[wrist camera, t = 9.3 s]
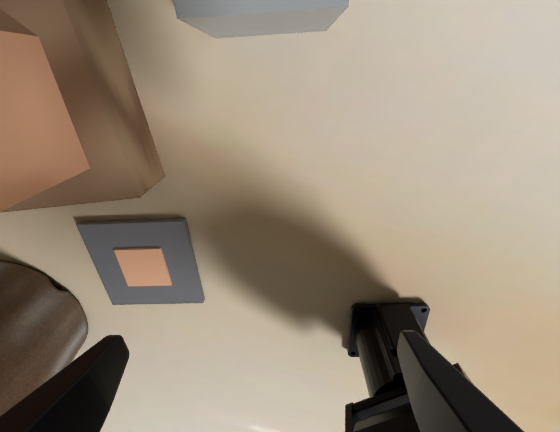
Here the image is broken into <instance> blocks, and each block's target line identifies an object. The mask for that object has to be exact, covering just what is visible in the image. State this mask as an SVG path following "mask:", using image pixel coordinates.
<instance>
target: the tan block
mask: <svg viewBox="0 0 560 432" xmlns="http://www.w3.org/2000/svg"><path fill="white" fill-rule="evenodd" d="M0 31H6V32H12V33H19V34H26V35H32V36H38V37H39V39H40V42H41V45H42V47H43V50H44V52H45V55H46V57H47V60H48V62H49V65H50V67H51V70H52V73H53V75H54V78H55V80H56V83H57V85H58V88H59V90H60V93H61V95H62V98H63V100H64V103H65V106H66V108H67V111H68V113H69V116H70V118H71V121H72V123H73V126H74V128H75V131H76V133H77V136H78V139H79V141H80V144H81V146H82V149H83V151H84V154H85V156H86V159H87V161H88V164H89V167H90V169H88V170H86V171H84V172H82V173H80V174H78V175H76V176H74V177H72V178H69V179H67V180H65V181H63V182H61V183H59V184H57V185H55V186H53V187H51V188H49V189H47V190H45V191H42V192H40V193H38V194H36V195H34V196H32V197H30V198H28V199H26V200H24V201H22V202H20V203H17V204H15V205H13V206H11V207H9V208H7V209H5V210H3V211H1V212H9V211H18V210H28V209H37V208H46V207H56V206H65V205H74V204H84V203H93V202H102V201H112V200H121V199H130V198H140V197H141V196H142V195H143V194H144V193H146V192H147V191H148V190H149V189H150V188H152V187H153V186H154V185H155V184H156V183H158V182H159V181H160V180H161V179H162V178H164V177H165V175H164V172H163V169H162V166H161V163H160V160H159V157H158V154H157V151H156V148H155V145H154V142H153V139H152V136H151V133H150V130H149V127H148V124H147V121H146V118H145V115H144V112H143V109H142V106H141V103H140V100H139V97H138V94H137V91H136V88H135V85H134V82H133V79H132V76H131V73H130V70H129V67H128V64H127V61H126V58H125V55H124V52H123V49H122V46H121V43H120V40H119V37H118V34H117V30H116V27H115V24H114V21H113V18H112V15H111V12H110V9H109V6H108V3H107V0H0Z"/></svg>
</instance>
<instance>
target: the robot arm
mask: <svg viewBox="0 0 560 432" xmlns="http://www.w3.org/2000/svg"><path fill="white" fill-rule="evenodd" d="M358 309H359V310H358ZM429 311H430V308H429V307H428V305H427V304H426V303H375V304H355V305H353V306H352V308H351V316H350V326H349V336H348V346H347V351H348V355H349V356H351V357H360V361H361V365H362V369H363V372H364V376H365V380H366V384H367V388H368V392H369V396H370V398H367V399H364V400H362V401H359V402H356V403H354V404H353V403H349V404H347V405H346V406H345V432H524V431H523V430H522V429H521V428H520V427H518V426H517V425H516V424H515V423H514V422H513V421H512V420H511V419H510V418H509V417H508V416H507V415H506V414H504V413H503V412H502V411H501V410H500V409H499V408H498V407H497V406H496V405H495V404H494V403H493V402H492V401H491V400H489V399H488V398H487V397H486V396H485V395H484V394H483V393H482V392H481V391H480V390H479V389H478V388H477V387H475V386H474V384H473V383H472V382H471V380H470V379H469V378H468V376H467V375H466V373H465V372H464V371H463V369H462V368H461V367H460V365H459V364H458V363H456V364H454V365H452V364H451V363H450V362H449V361H447V360H446V359H445V358H444V357H443V356H442V355H441V354H440V353H439V352H438V351H437V350H436V349H435V348H433V347H432V346H431V345H430V343H429V341H428V339H427V337H426V335H425V333H424V329H425V325H426V322H427V318H428V315H429ZM128 359H129V350H128V348H127V346H126V343H125V341H124V339H123V337H122V336H121V335H108V336H106V337H105V338H103V339H102V340H101V341H99V342H98V343H97V344H95V345H94V346H93V347H91V348H90V349H89V350H87V351H86V352H85V353H83V354H82V355H81V356H79V357H78V358H77V359H75V360H74V361H73V362H71V363H70V364H69V365H67V366H66V367H65V368H63V369H62V370H61V371H59V372H58V373H57V374H55V375H54V376H53V377H51V378H50V379H49V380H47V381H46V382H45V383H43V384H42V385H41V386H39V387H38V388H37V389H35V390H34V391H33V392H31V393H30V394H29V395H27V396H26V397H25V398H24V399H22V400H21V401H20V402H18V403H17V404H16V405H14V406H13V407H12V408H10V409H9V410H8V411H6V412H5V413H4V414H2V415H1V416H0V432H100V430H101V428H102V426H103V424H104V422H105V419H106V417H107V415H108V413H109V410H110V408H111V405H112V403H113V400H114V398H115V395H116V392H117V389H118V387H119V384H120V381H121V378H122V376H123V373H124V370H125V367H126V365H127V362H128Z"/></svg>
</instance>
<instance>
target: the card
mask: <svg viewBox="0 0 560 432" xmlns="http://www.w3.org/2000/svg"><path fill="white" fill-rule="evenodd" d="M77 228H78V230H79V232H80V234H81V236H82V239H83V241H84V243H85V245H86V247H87V250H88V252H89V254H90V256H91V258H92V260H93V263H94V265H95V267H96V269H97V271H98V274H99V276H100V278H101V280H102V282H103V285H104V287H105V289H106V291H107V293H108V296H109V298H110V300H111V302H112V304H113V305H125V304H176V303H203V302H204V299H205V298H204V293H203V289H202V285H201V281H200V277H199V272H198V268H197V264H196V260H195V256H194V251H193V247H192V243H191V239H190V235H189V231H188V226H187V222H186V218H175V219H145V220H114V221H84V222H80V223H78V224H77Z"/></svg>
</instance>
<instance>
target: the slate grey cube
mask: <svg viewBox="0 0 560 432" xmlns="http://www.w3.org/2000/svg"><path fill="white" fill-rule="evenodd" d="M174 5H175V10H176V16H177V19H179V20H181V21H183V22H185V23H187V24H189V25H191V26H193V27H195V28H197V29H199V30H201V31H202V32H204V33H206V34H208V35H210V36H212V37H214V38H228V37H242V36H257V35H272V34H287V33H302V32H317V31H327V29H328V28H329V27H330V26H331V25H332V24H333V23H334V22H335V21H336V20H337V18H338V17H339V16H340V15H341V14H342V13H343V12H344V11H345V10H346V9H347V7H348V5H349V0H174Z"/></svg>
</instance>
